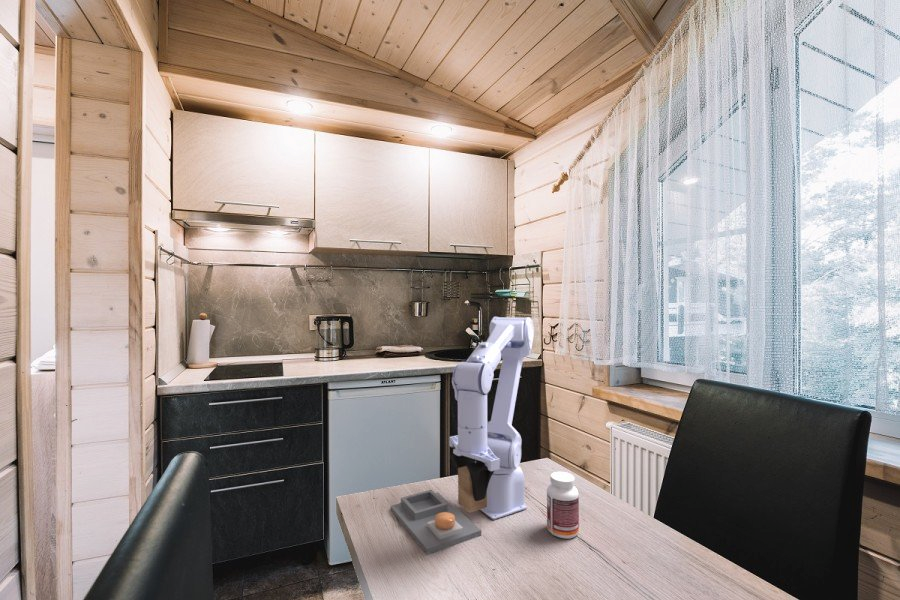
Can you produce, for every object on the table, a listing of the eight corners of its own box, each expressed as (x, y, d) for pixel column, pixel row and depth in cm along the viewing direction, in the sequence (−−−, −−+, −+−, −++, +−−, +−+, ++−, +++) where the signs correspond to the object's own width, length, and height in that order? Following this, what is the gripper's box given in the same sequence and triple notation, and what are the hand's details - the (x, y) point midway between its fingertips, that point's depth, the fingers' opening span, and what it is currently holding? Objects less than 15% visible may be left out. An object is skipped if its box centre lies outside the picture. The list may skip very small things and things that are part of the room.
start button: (448, 516, 85) (448, 510, 85) (458, 525, 81) (458, 519, 81) (431, 521, 83) (431, 515, 83) (440, 531, 79) (440, 525, 79)
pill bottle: (585, 533, 82) (585, 478, 82) (564, 543, 78) (564, 486, 78) (561, 519, 87) (561, 467, 87) (540, 528, 84) (540, 474, 84)
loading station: (438, 496, 97) (438, 486, 97) (481, 535, 81) (481, 522, 81) (390, 510, 91) (390, 499, 91) (427, 554, 75) (426, 540, 75)
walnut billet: (475, 498, 83) (474, 463, 82) (486, 507, 79) (486, 470, 79) (458, 503, 80) (458, 468, 80) (469, 512, 77) (469, 475, 77)
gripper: (436, 418, 84) (436, 484, 84) (476, 439, 71) (477, 517, 72) (465, 412, 87) (465, 476, 88) (508, 432, 75) (508, 506, 75)
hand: (472, 494), depth 80 cm, fingers closed on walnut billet, 4 cm apart
